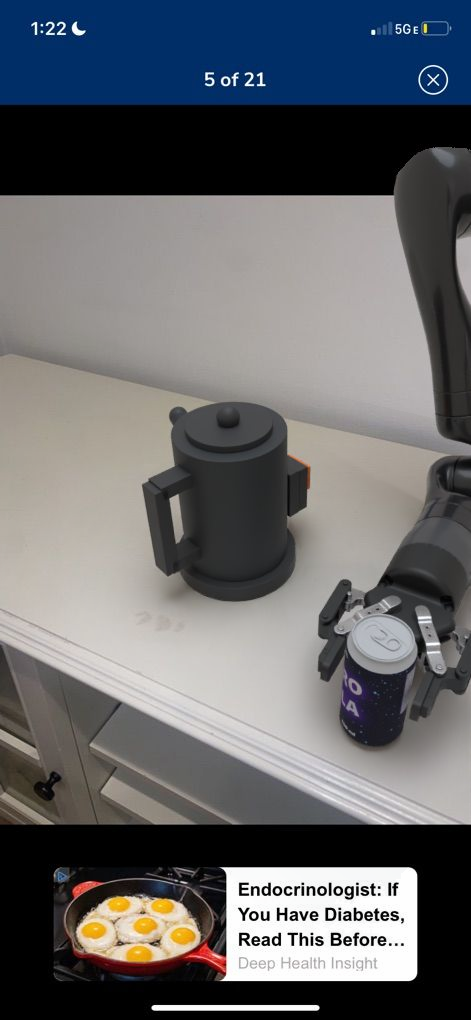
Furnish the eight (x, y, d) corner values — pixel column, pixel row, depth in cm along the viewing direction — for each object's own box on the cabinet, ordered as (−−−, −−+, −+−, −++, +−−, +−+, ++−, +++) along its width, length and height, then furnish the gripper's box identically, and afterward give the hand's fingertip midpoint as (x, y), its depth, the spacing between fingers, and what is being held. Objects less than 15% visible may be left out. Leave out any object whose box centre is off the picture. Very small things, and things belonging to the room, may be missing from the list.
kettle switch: (289, 475, 77) (289, 454, 75) (310, 488, 75) (310, 466, 73) (281, 480, 76) (281, 458, 74) (301, 493, 74) (302, 470, 72)
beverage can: (363, 686, 60) (374, 599, 52) (414, 722, 56) (434, 635, 49) (326, 724, 57) (332, 637, 49) (377, 765, 53) (392, 678, 46)
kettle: (237, 491, 86) (228, 349, 73) (329, 555, 75) (338, 401, 62) (118, 553, 77) (85, 404, 64) (203, 636, 66) (183, 475, 53)
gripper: (364, 520, 62) (289, 631, 52) (514, 567, 56) (464, 704, 45) (359, 574, 67) (289, 687, 56) (496, 623, 61) (448, 759, 50)
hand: (367, 694), depth 51 cm, fingers open, 7 cm apart
